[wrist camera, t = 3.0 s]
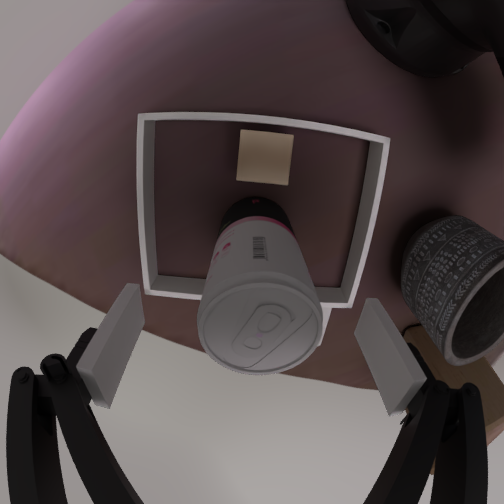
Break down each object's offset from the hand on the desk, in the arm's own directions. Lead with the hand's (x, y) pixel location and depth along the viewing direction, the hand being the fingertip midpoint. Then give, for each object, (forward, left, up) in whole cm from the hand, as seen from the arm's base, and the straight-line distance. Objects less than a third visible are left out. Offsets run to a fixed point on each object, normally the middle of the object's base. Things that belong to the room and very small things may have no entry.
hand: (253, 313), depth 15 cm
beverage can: (0, 0, -13) cm, 13 cm away
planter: (+1, +21, -13) cm, 25 cm away
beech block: (-8, 0, -13) cm, 15 cm away
